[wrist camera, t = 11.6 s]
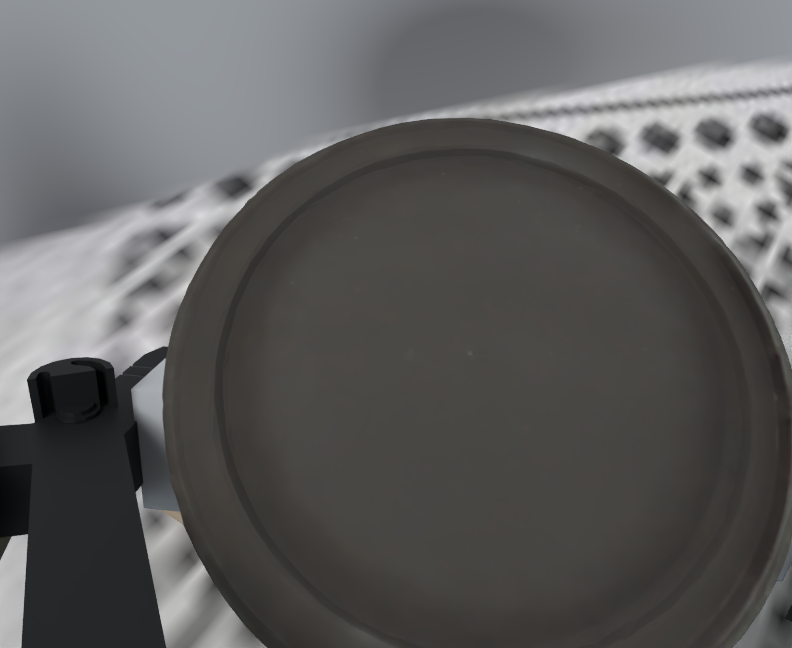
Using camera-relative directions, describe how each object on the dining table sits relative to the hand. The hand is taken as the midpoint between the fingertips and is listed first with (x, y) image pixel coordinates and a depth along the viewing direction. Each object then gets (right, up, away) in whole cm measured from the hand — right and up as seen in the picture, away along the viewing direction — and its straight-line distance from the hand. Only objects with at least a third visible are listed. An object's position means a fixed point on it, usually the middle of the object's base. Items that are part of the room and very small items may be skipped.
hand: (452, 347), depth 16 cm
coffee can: (-1, -5, +6) cm, 8 cm away
